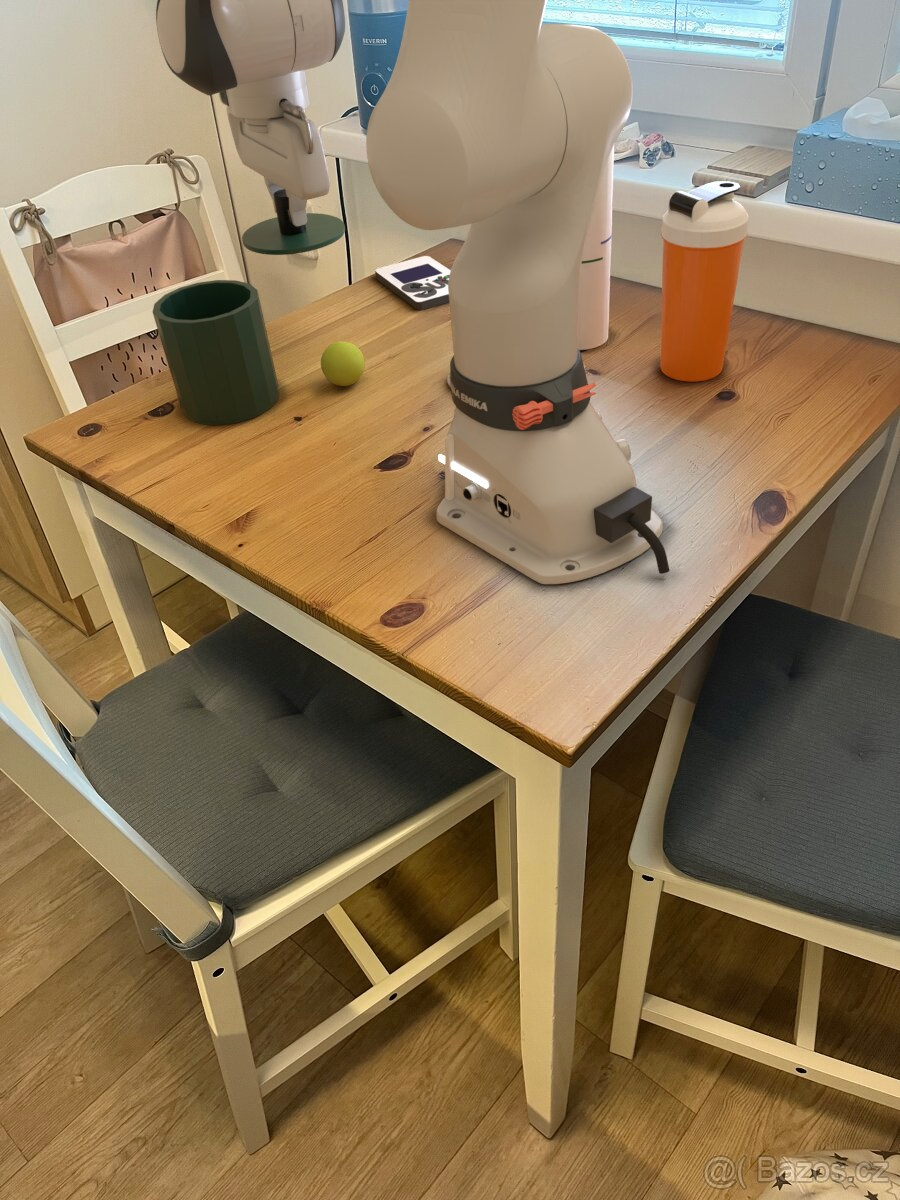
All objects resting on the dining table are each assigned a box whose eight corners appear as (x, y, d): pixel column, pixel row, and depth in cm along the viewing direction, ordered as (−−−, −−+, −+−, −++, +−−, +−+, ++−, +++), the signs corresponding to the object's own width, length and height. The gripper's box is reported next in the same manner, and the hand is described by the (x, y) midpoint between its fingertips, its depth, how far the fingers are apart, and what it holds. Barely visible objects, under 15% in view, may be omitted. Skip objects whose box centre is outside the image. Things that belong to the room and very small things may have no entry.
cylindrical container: (619, 333, 118) (628, 116, 102) (586, 354, 114) (590, 133, 98) (573, 320, 122) (574, 109, 106) (539, 341, 118) (535, 125, 102)
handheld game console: (428, 262, 141) (427, 253, 140) (475, 294, 131) (474, 285, 130) (374, 277, 139) (373, 268, 138) (418, 311, 128) (417, 301, 127)
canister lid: (363, 241, 113) (356, 192, 110) (266, 268, 109) (256, 218, 105) (320, 215, 122) (312, 169, 118) (229, 239, 118) (218, 192, 114)
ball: (374, 384, 113) (368, 344, 109) (335, 398, 111) (328, 357, 108) (355, 369, 116) (349, 329, 113) (317, 382, 114) (310, 342, 111)
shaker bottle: (747, 367, 108) (771, 187, 96) (694, 394, 105) (712, 210, 92) (688, 344, 114) (703, 171, 101) (636, 368, 110) (645, 192, 98)
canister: (294, 404, 111) (272, 302, 102) (201, 435, 107) (171, 332, 98) (258, 369, 118) (235, 271, 110) (170, 397, 114) (140, 298, 106)
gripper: (332, 103, 99) (351, 235, 108) (261, 74, 113) (283, 193, 122) (277, 115, 97) (301, 249, 106) (211, 84, 111) (237, 204, 119)
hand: (291, 219), depth 114 cm, fingers closed on canister lid, 3 cm apart
